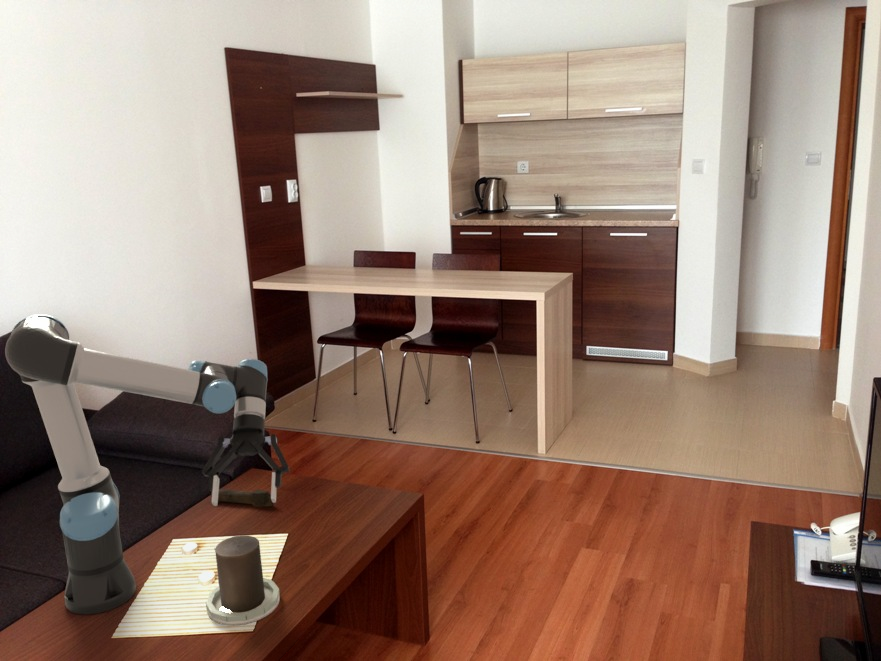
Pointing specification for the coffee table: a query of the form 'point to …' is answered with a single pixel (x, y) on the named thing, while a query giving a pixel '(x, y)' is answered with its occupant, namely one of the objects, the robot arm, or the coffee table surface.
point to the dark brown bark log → (246, 497)
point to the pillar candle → (240, 573)
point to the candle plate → (247, 616)
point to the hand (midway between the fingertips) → (243, 502)
